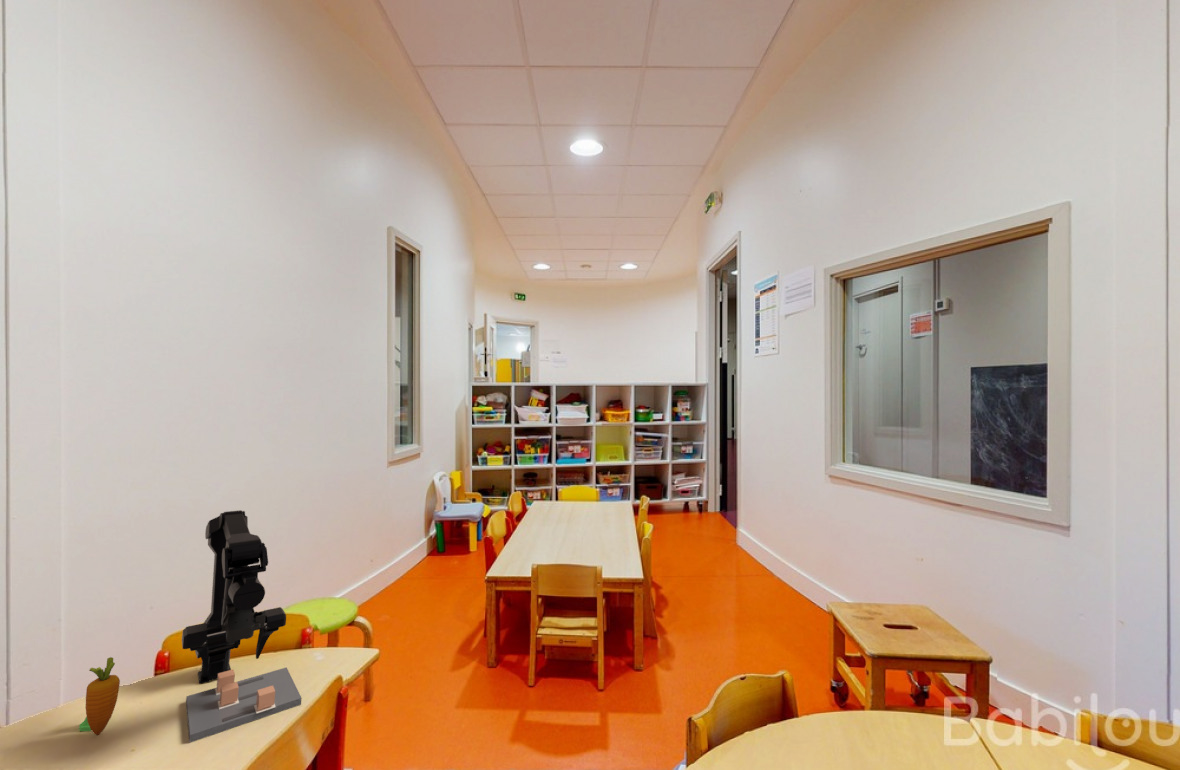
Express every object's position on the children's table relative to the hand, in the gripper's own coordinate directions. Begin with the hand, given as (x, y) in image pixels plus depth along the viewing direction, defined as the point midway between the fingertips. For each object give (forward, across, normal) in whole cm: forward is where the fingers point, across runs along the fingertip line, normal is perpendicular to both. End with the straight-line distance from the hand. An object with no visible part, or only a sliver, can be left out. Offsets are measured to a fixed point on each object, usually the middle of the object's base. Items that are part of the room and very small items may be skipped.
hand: (232, 664), depth 105 cm
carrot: (+11, -21, +8) cm, 25 cm away
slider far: (+9, 0, +8) cm, 12 cm away
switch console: (+11, +3, +2) cm, 11 cm away
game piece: (+11, -22, +13) cm, 28 cm away
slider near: (+8, +6, -6) cm, 12 cm away
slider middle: (+9, 0, +1) cm, 9 cm away
